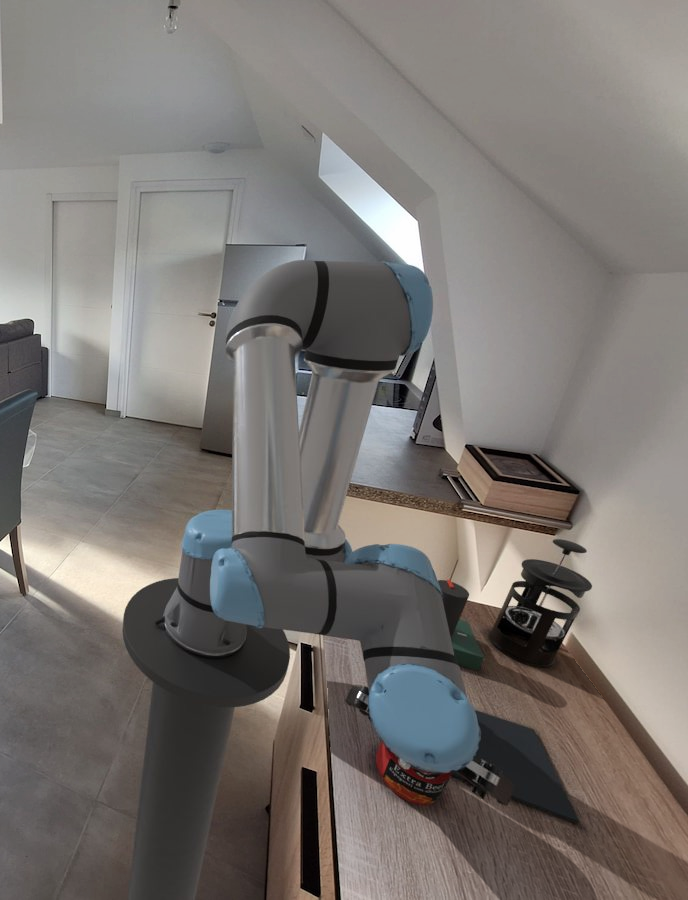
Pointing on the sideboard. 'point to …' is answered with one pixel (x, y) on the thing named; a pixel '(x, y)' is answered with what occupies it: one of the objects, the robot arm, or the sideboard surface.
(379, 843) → the sideboard surface
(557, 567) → the french press
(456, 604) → the knob
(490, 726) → the mat
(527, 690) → the sideboard surface
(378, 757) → the canned food
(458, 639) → the panel
